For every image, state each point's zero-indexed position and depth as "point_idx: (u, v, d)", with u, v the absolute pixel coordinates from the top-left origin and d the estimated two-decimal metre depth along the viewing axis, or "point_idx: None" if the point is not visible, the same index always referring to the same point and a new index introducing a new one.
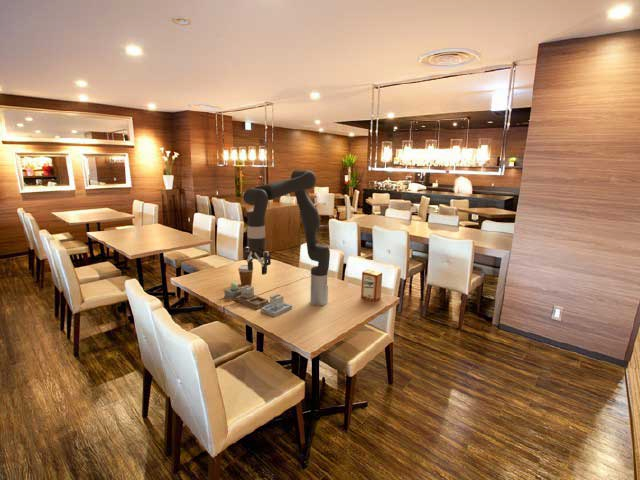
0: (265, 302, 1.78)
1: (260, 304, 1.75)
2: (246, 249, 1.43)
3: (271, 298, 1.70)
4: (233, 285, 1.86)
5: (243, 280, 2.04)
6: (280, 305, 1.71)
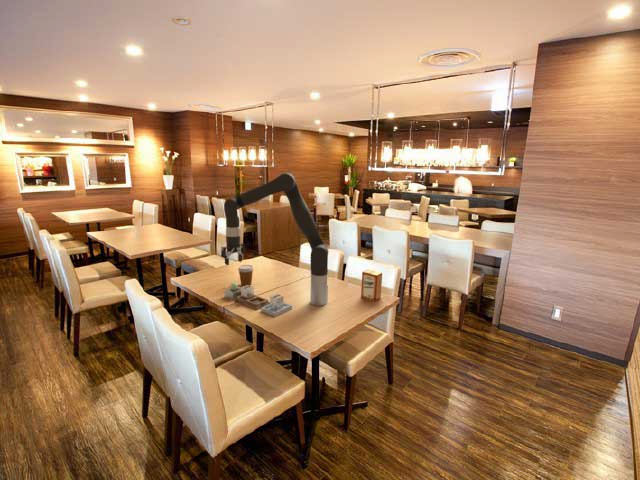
0: (265, 302, 1.78)
1: (260, 304, 1.75)
2: (225, 248, 1.74)
3: (271, 298, 1.70)
4: (233, 285, 1.86)
5: (243, 280, 2.04)
6: (280, 305, 1.71)
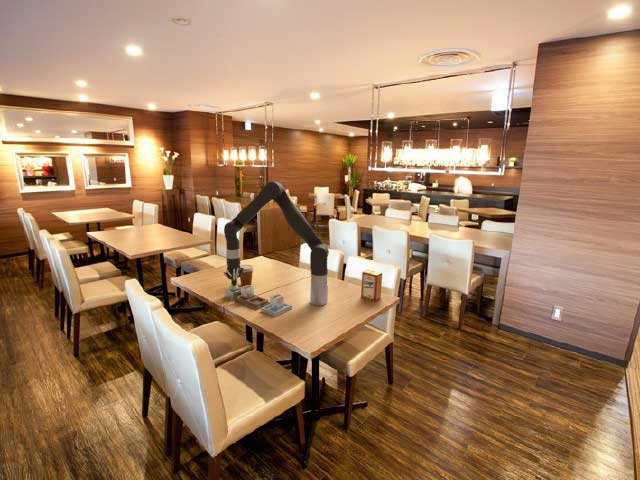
0: (265, 302, 1.78)
1: (260, 304, 1.75)
2: (227, 273, 1.81)
3: (271, 298, 1.70)
4: (233, 287, 1.86)
5: (243, 280, 2.04)
6: (280, 305, 1.71)
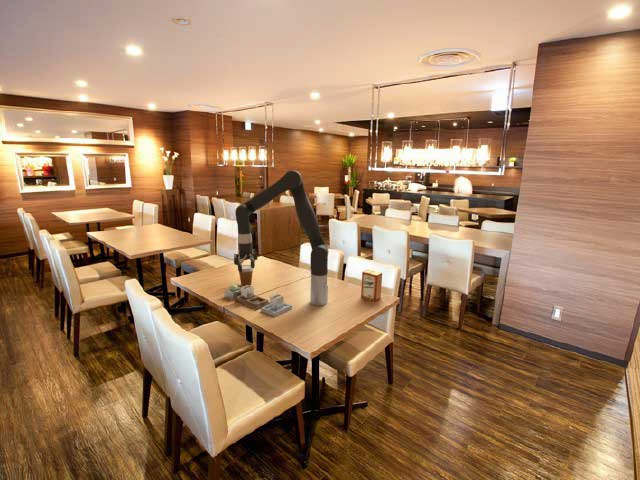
0: (265, 302, 1.78)
1: (260, 304, 1.75)
2: None
3: (271, 298, 1.70)
4: (233, 287, 1.86)
5: (243, 280, 2.04)
6: (280, 305, 1.71)
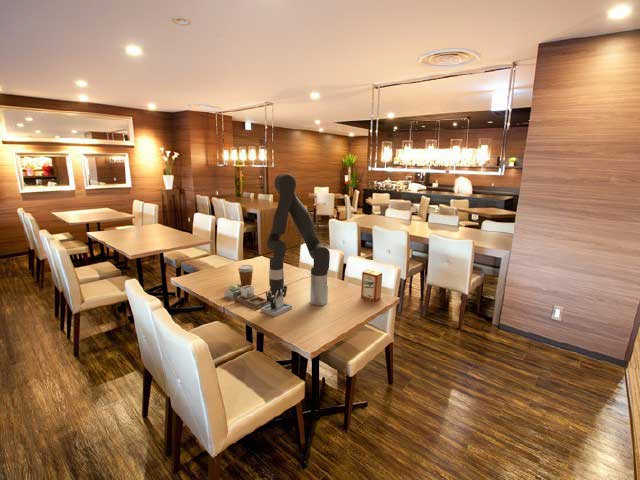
0: (265, 302, 1.78)
1: (260, 304, 1.75)
2: None
3: None
4: (233, 287, 1.86)
5: (243, 280, 2.04)
6: (280, 305, 1.71)
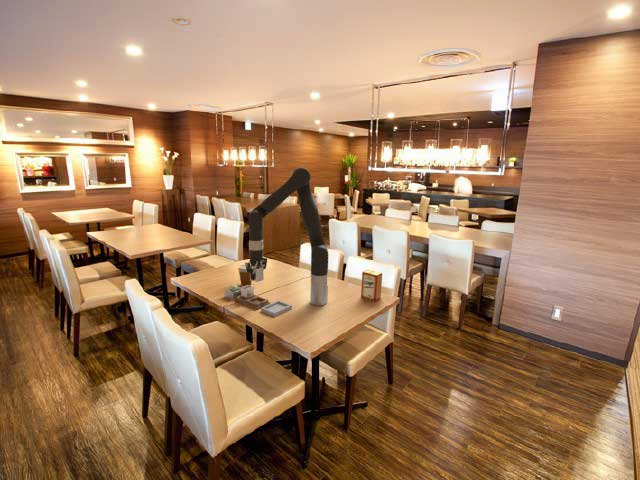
0: (265, 302, 1.78)
1: (260, 304, 1.75)
2: (249, 264, 1.69)
3: None
4: (233, 287, 1.86)
5: (243, 280, 2.04)
6: (259, 276, 1.74)
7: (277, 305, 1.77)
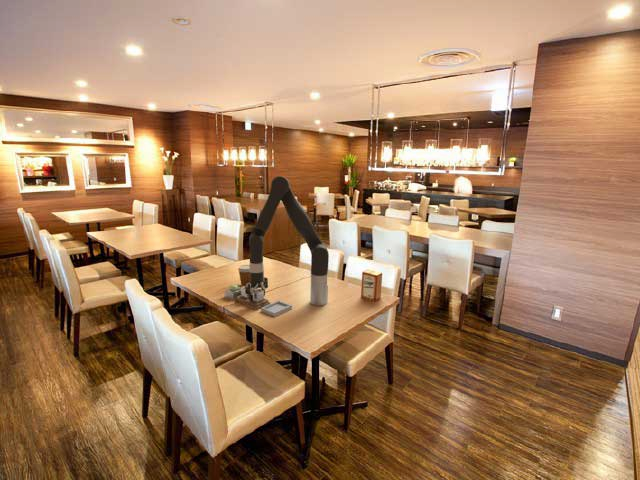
0: (265, 302, 1.78)
1: (260, 304, 1.75)
2: (249, 285, 1.71)
3: None
4: (233, 287, 1.86)
5: (243, 280, 2.04)
6: (260, 299, 1.77)
7: (277, 305, 1.77)
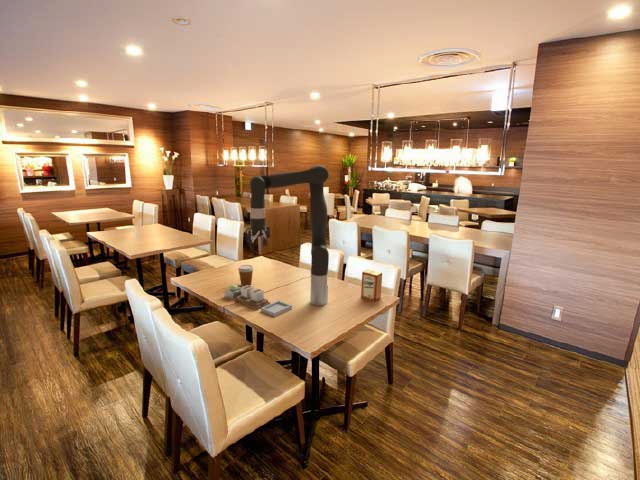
0: (265, 302, 1.78)
1: (260, 304, 1.75)
2: None
3: (251, 293, 1.76)
4: (233, 287, 1.86)
5: (243, 280, 2.04)
6: (260, 299, 1.77)
7: (277, 305, 1.77)
